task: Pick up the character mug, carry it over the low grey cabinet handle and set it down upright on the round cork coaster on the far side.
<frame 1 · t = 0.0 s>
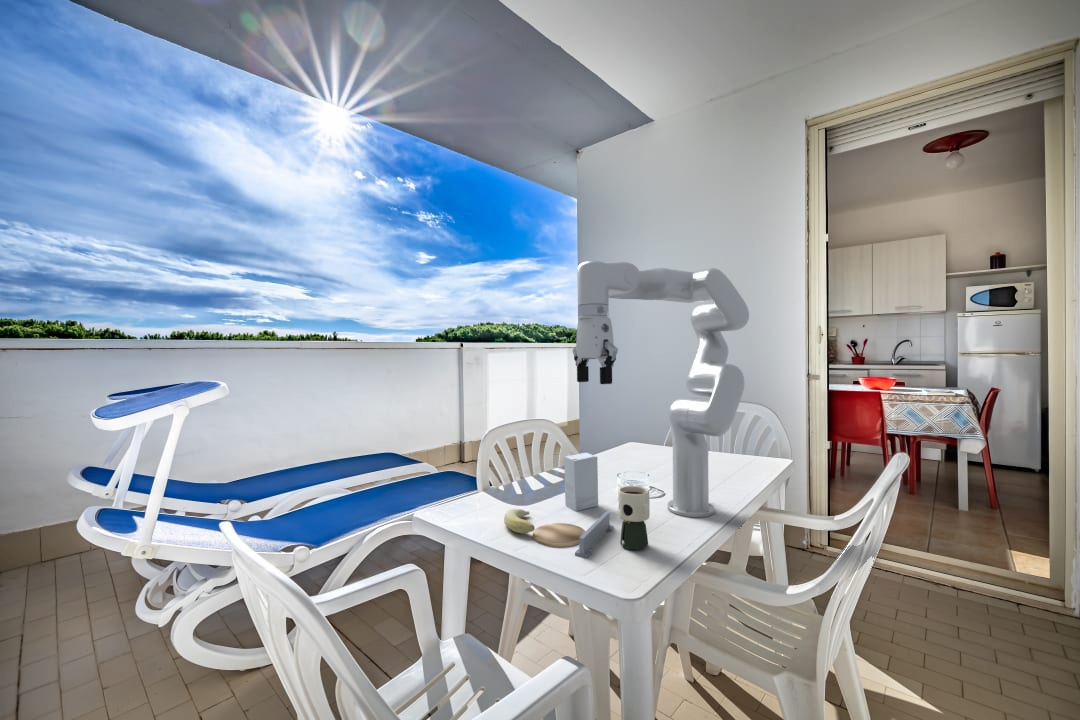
hand: (594, 382, 111), 37 cm above the table, tool pointing down, fingers open, 9 cm apart
character mug: (634, 546, 104), on the table
coaster: (559, 535, 110), on the table
skincare box: (581, 506, 131), on the table
grey cabinet handle: (595, 540, 107), on the table
fruit: (522, 526, 116), on the table, touching coaster
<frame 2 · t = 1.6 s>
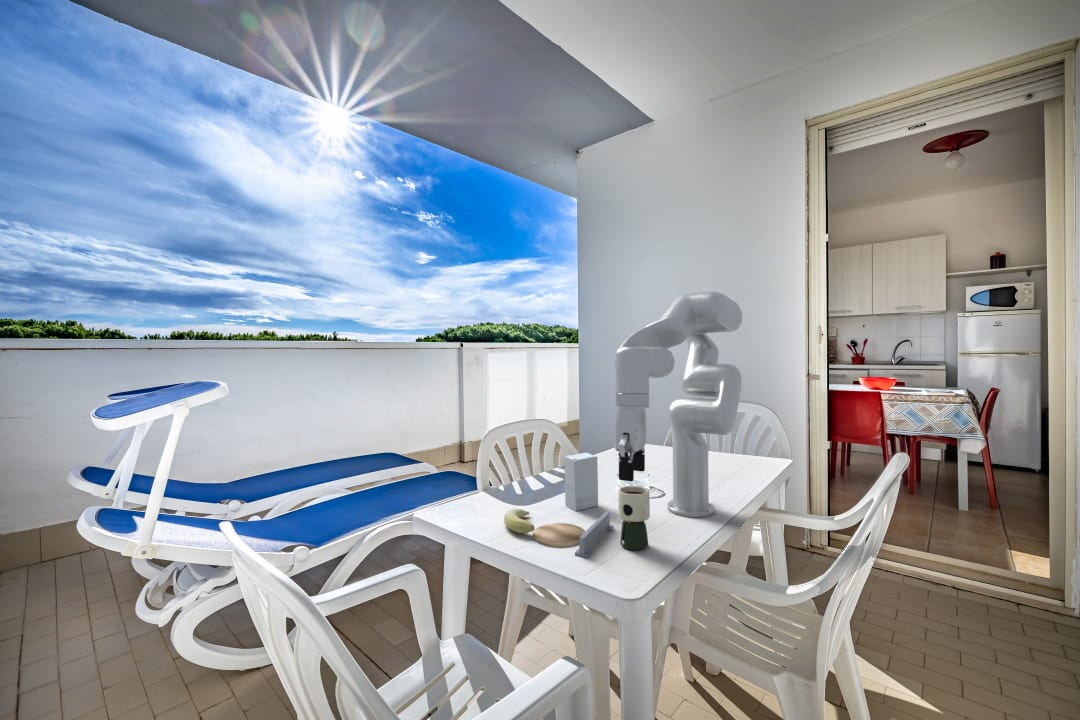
hand: (632, 475, 103), 16 cm above the table, tool pointing down, fingers open, 9 cm apart
nothing on the table moved.
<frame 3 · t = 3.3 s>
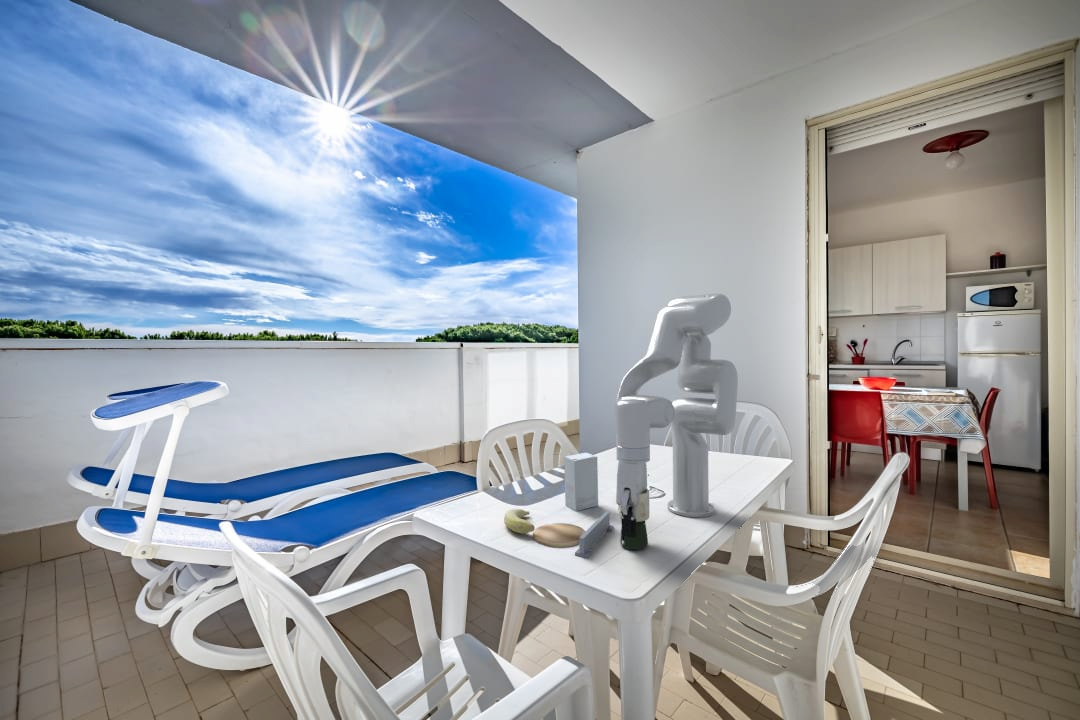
hand: (633, 529, 104), 4 cm above the table, tool pointing down, fingers closed on character mug, 7 cm apart
character mug: (634, 546, 104), on the table, touching gripper
everything else where it was.
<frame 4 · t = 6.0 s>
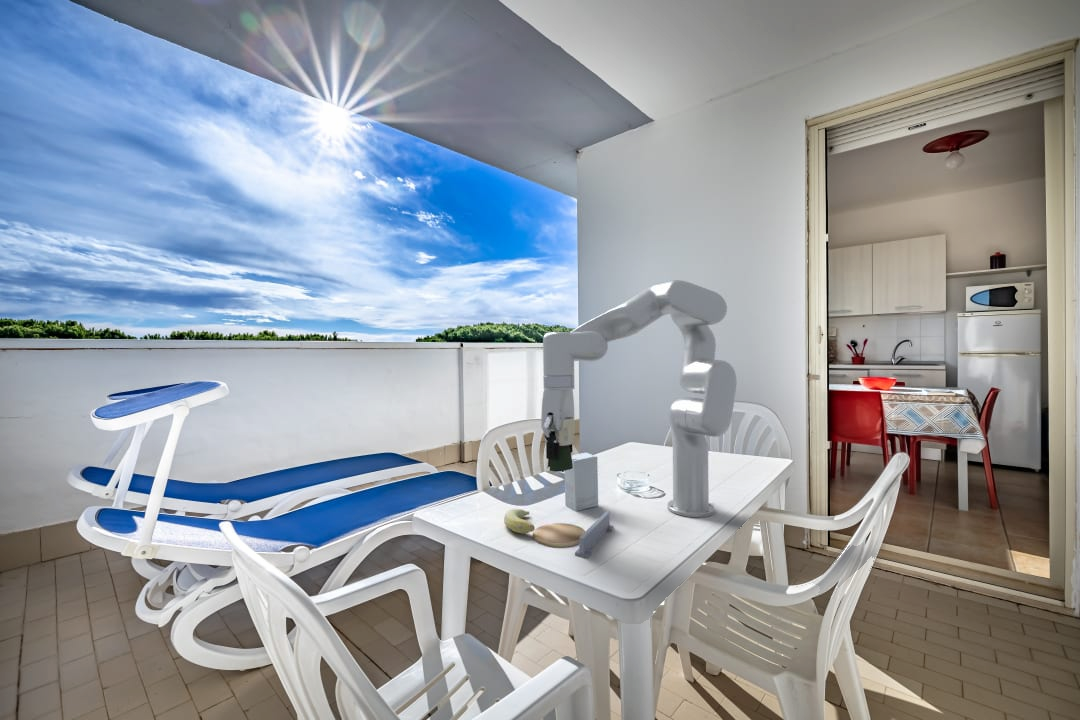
hand: (559, 455, 110), 20 cm above the table, tool pointing down, fingers closed on character mug, 7 cm apart
character mug: (560, 471, 110), point 16 cm above the table, touching gripper
everything else where it was.
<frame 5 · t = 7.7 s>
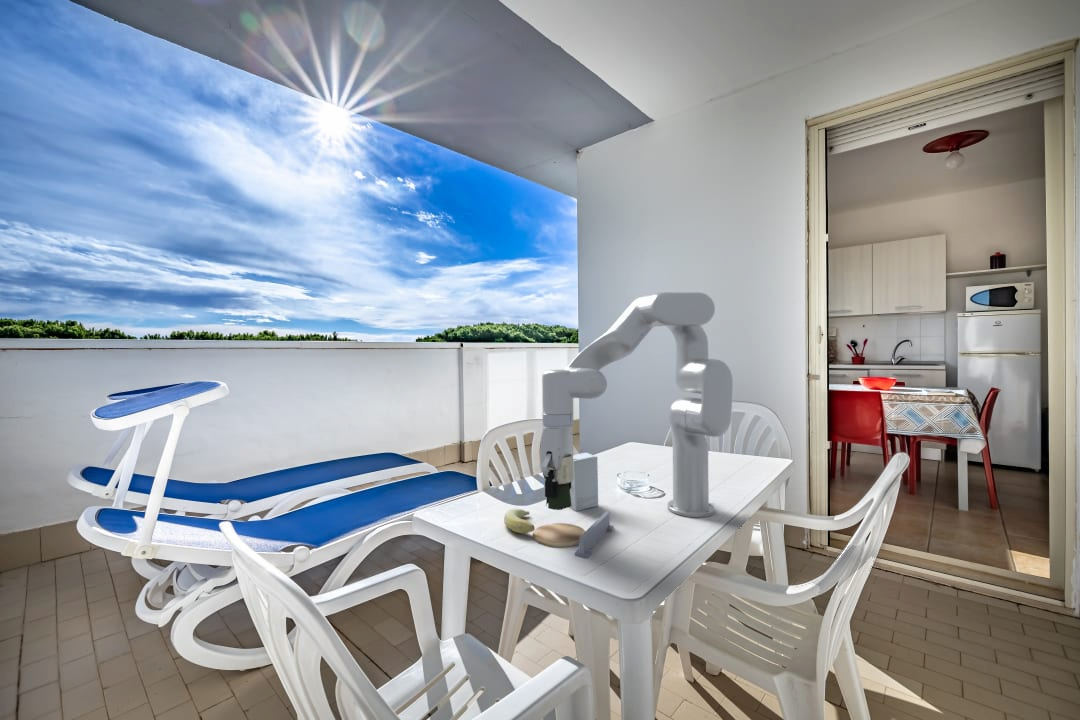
hand: (558, 492, 110), 11 cm above the table, tool pointing down, fingers closed on character mug, 7 cm apart
character mug: (558, 508, 110), point 7 cm above the table, touching gripper
everything else where it was.
when the fingers open (6 cm above the table, at t = 9.2 s): character mug drops 1 cm, resting on coaster.
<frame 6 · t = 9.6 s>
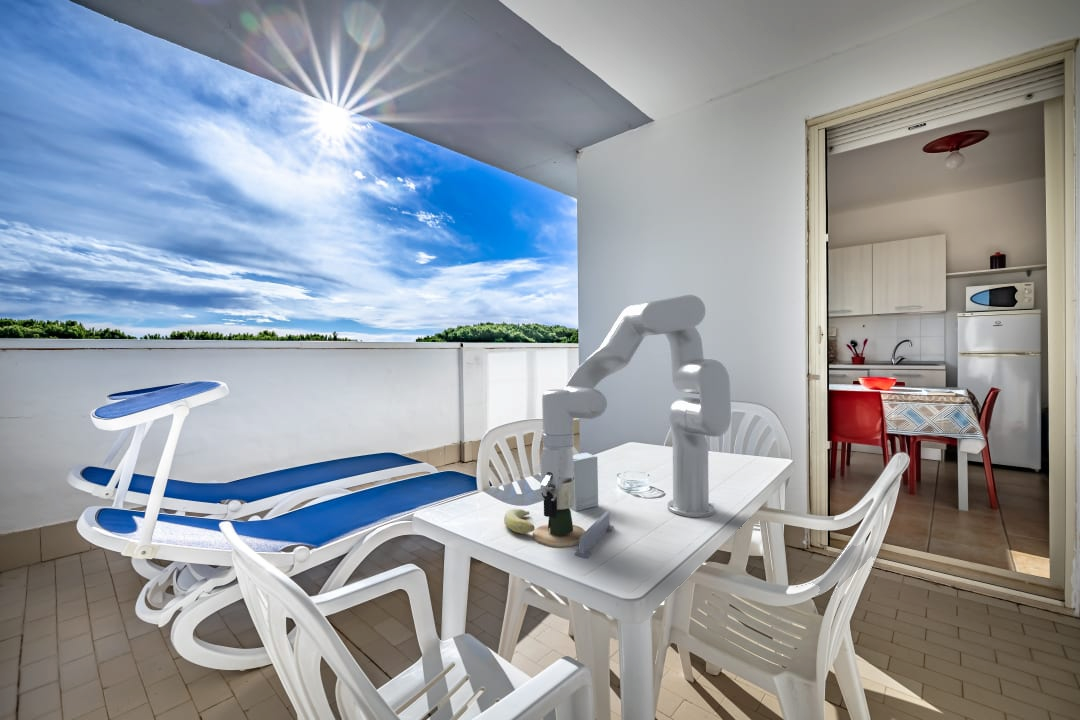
hand: (559, 510, 110), 6 cm above the table, tool pointing down, fingers open, 9 cm apart
character mug: (560, 533, 111), point 1 cm above the table, touching coaster
everything else where it was.
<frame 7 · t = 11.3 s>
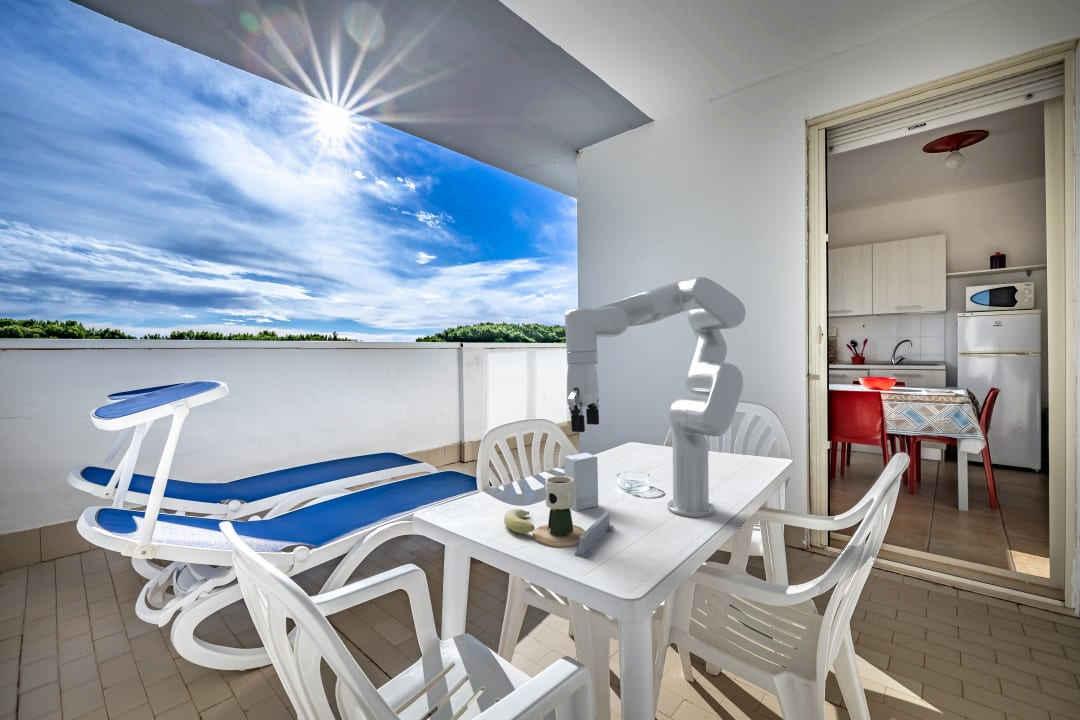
hand: (585, 427, 112), 26 cm above the table, tool pointing down, fingers open, 9 cm apart
nothing on the table moved.
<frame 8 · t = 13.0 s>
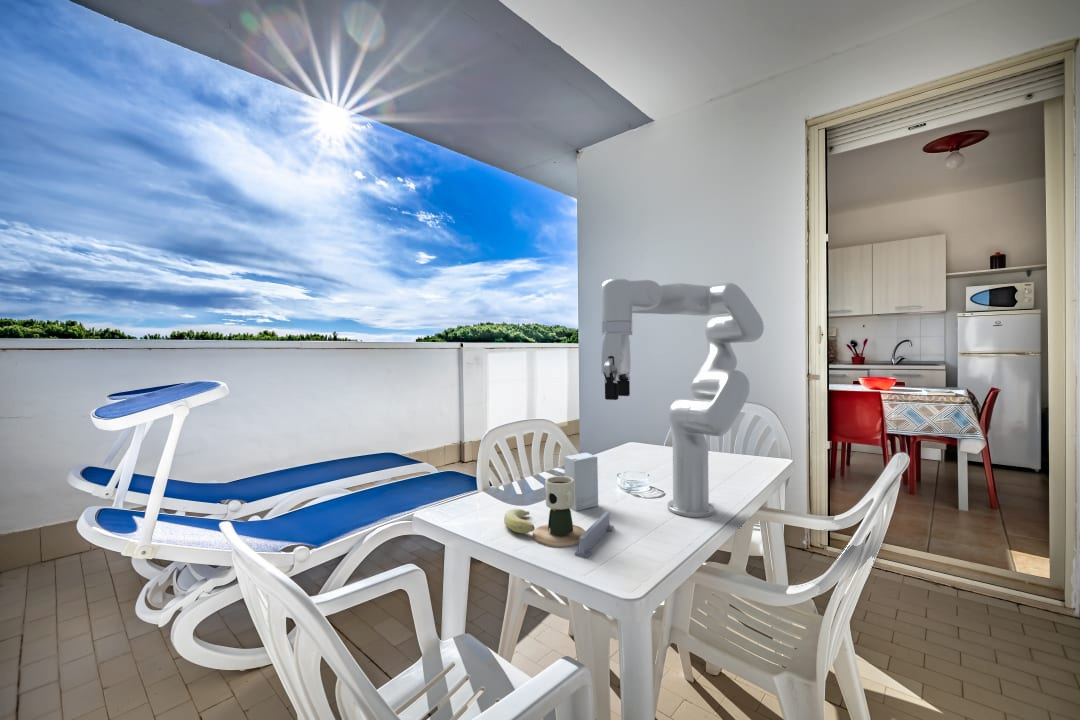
hand: (617, 397, 113), 33 cm above the table, tool pointing down, fingers open, 9 cm apart
nothing on the table moved.
at the end: character mug 0.3 cm from the coaster (horizontally); character mug tilted 0°; the gripper is holding nothing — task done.
